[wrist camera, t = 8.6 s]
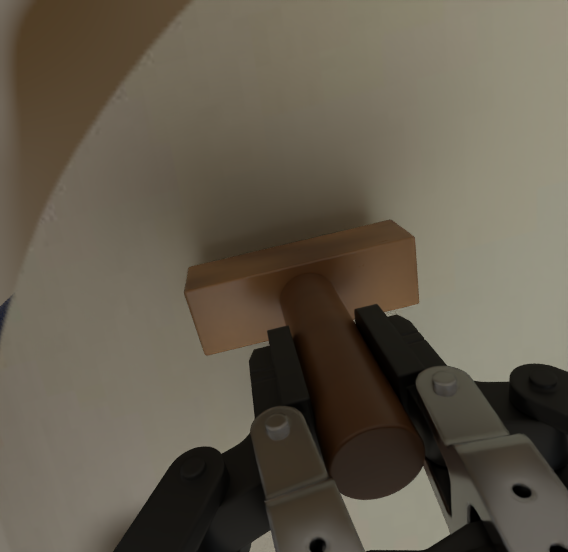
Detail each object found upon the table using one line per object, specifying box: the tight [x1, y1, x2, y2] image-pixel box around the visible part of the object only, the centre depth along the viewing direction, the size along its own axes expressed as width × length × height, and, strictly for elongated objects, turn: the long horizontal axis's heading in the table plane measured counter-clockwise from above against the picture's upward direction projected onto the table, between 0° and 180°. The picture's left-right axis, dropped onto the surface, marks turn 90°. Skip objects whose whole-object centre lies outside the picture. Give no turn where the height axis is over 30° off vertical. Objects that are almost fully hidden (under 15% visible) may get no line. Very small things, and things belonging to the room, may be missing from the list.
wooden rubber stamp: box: [184, 220, 425, 500], centre depth 14 cm, size 9×3×10 cm, turn 101°
